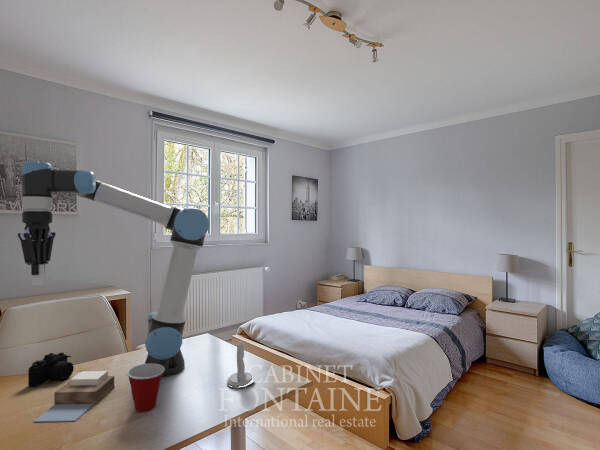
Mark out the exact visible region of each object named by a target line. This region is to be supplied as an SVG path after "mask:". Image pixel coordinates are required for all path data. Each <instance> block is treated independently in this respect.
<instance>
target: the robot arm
mask: <svg viewBox="0 0 600 450" xmlns="http://www.w3.org/2000/svg"><path fill="white" fill-rule="evenodd" d="M21 169H22V170H21V192H22V193H21V194H22V201H21V202H22V207H21V208H22V210H24V211H22V213H21V214H22V215H21V218H22V223H23V224H25V226H24V230H23V231H22V232H18V234H17V237H18V239H19V240H20V243H21V244H20V245H21V249H22V254H23V258H24V264H26V265H27V266H30V269H31V272H30V273H31V274H30V275H31V286H32V287H33V286H44V285H45V272H46V270H45V269H46V266H45V265H48V264H49V262H50V261H51V257H52V252H53V245H54V239H55V237H56V232H53V231H51V228H50V224H52V223H53V212H52V210H53V193H54V194H55V193H56V194H60V193H61V194H74V195H76V196H78V197H81V198H85V199H88V200H90V201H94V202H96V203H100V204H102V205H106V206H108V207H111V208H114V209H116V210H120V211H123V212H125V213H127V214H131V215H134V216H137V217H140V218H143V219H146V220H149V221H151V222H154V223H157V224H160V225H162V226H163V227H164V229H166V230H169V231H171V235H170V243H171V245H172V251H171V254H170V259H169V263H168V267H167V272H166V274H165V275H166V276H165V279H164V284H163V287H162V288H163V289H162V292H161V297H160V300H159V304H158V305H159V306H158V309H157V311H153V312H150V313H149V314H148V316H147V318H148V319H147V323H148V325H147V334H146V339H145V342H144V345H145V346H144V347H145V350H146V352H147V355H146V358H145V362H144V364H149V363H152V364H159V365H162V366H163V367H164V368H165V370H164V372H163V374H162V376H161V378H167V377H171V376H174V375H176V374H178V373H180V372H182V371H183V370H184V369H185V367H186V365H185V363H186V362H185V358H184V356H183V352H182V350H181V348H182V346H183V334H184V330H185V329H184V328H185V324H186V317H185V316H184V315H183V314H184V309H185V305H186V302H187V297H188V293H189V289H190V284H191V280H192V275H193V270H194V266H195V263H196V258H197V254H198V251H199V250H200V249H202V248H203V246H204V243H205V239H206V234H207V233H208V231H209V228H210V221H209V217H208V216H207V214H206V212H204V211H203V210H201V209H200V208H198V207H191V206H189V207H185V208H183V207H179V206H176V205H172V206H169V205H166V204H163V203H160V202H157V201H154V200H152V199H149V198H147V197H144V196H140V195H138V194H135V193H133V192H131V191H128V190H124V189H121V188H119V187H117V186H113V185H111V184H108V183H106V182H103V181H100V180H98V179H96V176H95V173H94V172H93V171H90V170H82V169H80V170H79V169H78V170H76V169H75V170H74V169H73V170H72V169H53V166H52V164H51V163H49V162H45V161H36V160H35V161H34V160H28V161H25V162H23V163H22V167H21Z"/></svg>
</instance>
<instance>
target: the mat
mask: <svg viewBox="0 0 600 450" xmlns="http://www.w3.org/2000/svg"><path fill="white" fill-rule="evenodd" d="M94 405H95V404H55V403H54V405H52V406H51V407H50V408H49V409H47V410H46V411H45V412H44V413H42V414H41V415H39V416H38V417H37V418H36V419H34V420H33V423H57V422H61V423H62V422H76V421H77V420H79V419H80V418H81V417H82V416H83V415H84V414H86V412H87V411H88V410H90V409H91V408H92V407H93V406H94Z"/></svg>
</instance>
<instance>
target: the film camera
mask: <svg viewBox="0 0 600 450" xmlns="http://www.w3.org/2000/svg"><path fill="white" fill-rule="evenodd" d="M70 357H72V356H71V355H67V354H65V353H64V352H58V353H57V354H56V353H55V354H54V353H52V352H50V353H48V354H44V357H43V358H42V360H36V361H34V362H32V363H31V366H30V367H28V370H27V371H28V372H27V373H28V376H27V377H28V381H27V386H28V388H32V389H33V388H36V387H38V386H41V385H43V384H45V383H47V382H49V381H54V380H56V381H57V380H67V379H69V378H70V377H71V376H72V374H73V372H74V369H75V367H74V363H72V362H70V361H68V358H70Z"/></svg>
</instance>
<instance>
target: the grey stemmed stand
mask: <svg viewBox="0 0 600 450" xmlns="http://www.w3.org/2000/svg"><path fill="white" fill-rule="evenodd" d="M236 347H237V348H236V366H237V368H236V369H237V372H235V373H232V374H230V376H229V377H227V380H226V384H228V385H230V386H232V387H239V386H244V385H246V384H248V383H249V382H250V381H251V380H252V376H253V374H252V373H250V372H246V371H245V369H246V368H245V367H246V365H245V362H244V358H245V349H244V343H243V341H241V340H239V341H238V342H237V346H236ZM228 385H227V386H228ZM232 387H231V388H232Z"/></svg>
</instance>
